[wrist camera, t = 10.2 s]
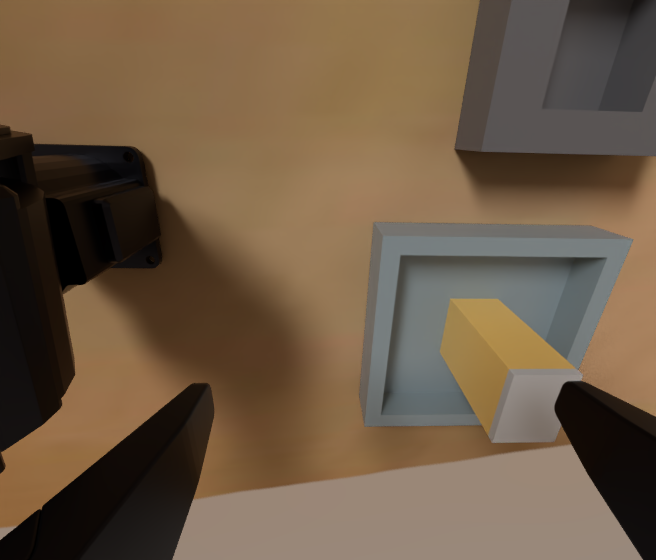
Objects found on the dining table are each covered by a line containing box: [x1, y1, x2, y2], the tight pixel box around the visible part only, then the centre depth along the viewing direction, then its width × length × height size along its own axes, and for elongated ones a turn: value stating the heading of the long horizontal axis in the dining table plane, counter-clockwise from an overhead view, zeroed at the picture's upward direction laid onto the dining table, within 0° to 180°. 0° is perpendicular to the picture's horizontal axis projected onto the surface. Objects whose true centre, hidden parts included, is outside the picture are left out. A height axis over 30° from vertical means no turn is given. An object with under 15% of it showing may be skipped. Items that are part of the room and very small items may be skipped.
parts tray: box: [359, 222, 633, 427], centre depth 20 cm, size 13×13×3 cm
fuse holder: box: [455, 0, 656, 156], centre depth 14 cm, size 9×9×3 cm
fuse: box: [440, 299, 583, 443], centre depth 18 cm, size 3×4×7 cm
